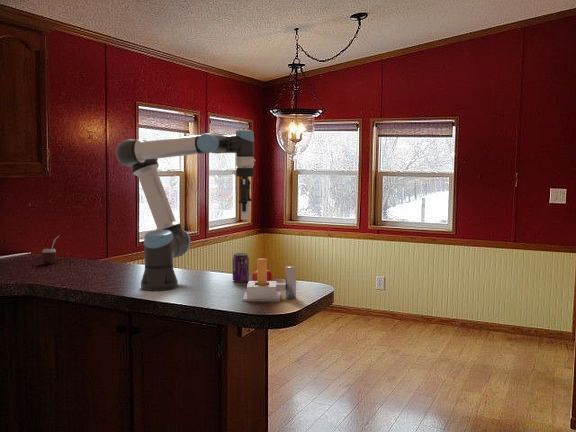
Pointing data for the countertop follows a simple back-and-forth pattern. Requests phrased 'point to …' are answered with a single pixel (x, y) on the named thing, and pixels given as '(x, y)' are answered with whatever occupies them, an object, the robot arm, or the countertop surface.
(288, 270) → the white block with post
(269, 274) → the apple
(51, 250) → the mate gourd
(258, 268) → the orange rectangular block
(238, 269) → the beverage can
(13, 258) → the countertop surface
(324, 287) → the countertop surface
